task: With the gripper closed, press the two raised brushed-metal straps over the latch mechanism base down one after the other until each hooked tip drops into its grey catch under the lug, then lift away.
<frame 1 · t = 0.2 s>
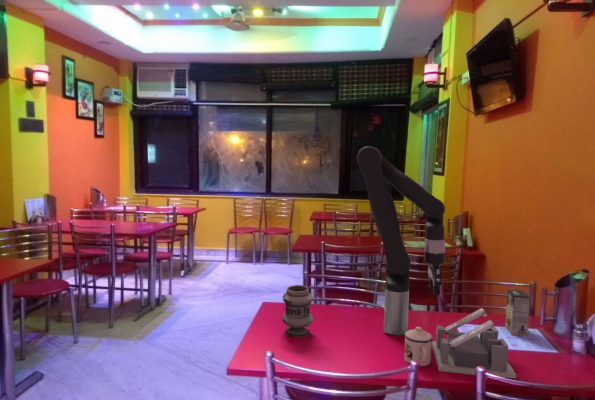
hand: (434, 291, 163), 18 cm above the table, tool pointing down, fingers open, 8 cm apart
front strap: (471, 335, 137), point 11 cm above the table, hinge at 35.0°
latch mechanism base: (470, 360, 143), on the table
back strap: (464, 322, 149), point 11 cm above the table, hinge at 35.0°
apothecary jar: (297, 333, 165), on the table
coffee box: (516, 331, 170), on the table
teacup with lid: (418, 363, 142), on the table
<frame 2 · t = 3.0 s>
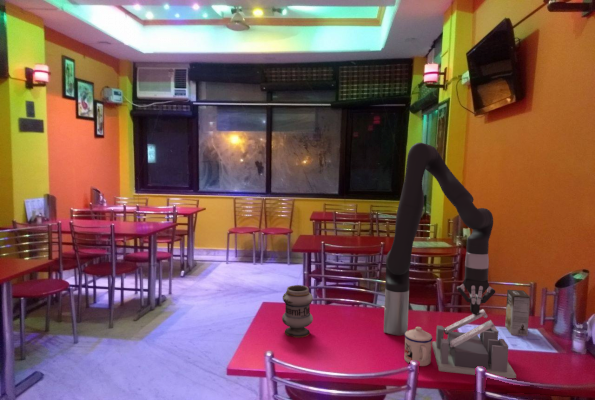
hand: (474, 313, 148), 15 cm above the table, tool pointing down, fingers closed
back strap: (464, 322, 149), point 11 cm above the table, hinge at 32.9°, touching gripper
everything else where it was.
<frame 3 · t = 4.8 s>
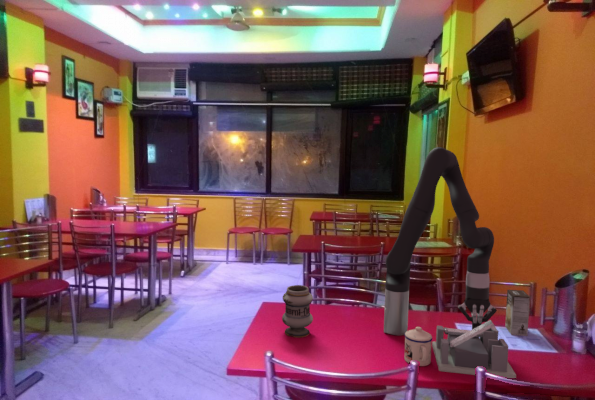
hand: (476, 332, 148), 8 cm above the table, tool pointing down, fingers closed
back strap: (467, 334, 149), point 7 cm above the table, hinge at -0.4°, touching gripper
everything else where it was.
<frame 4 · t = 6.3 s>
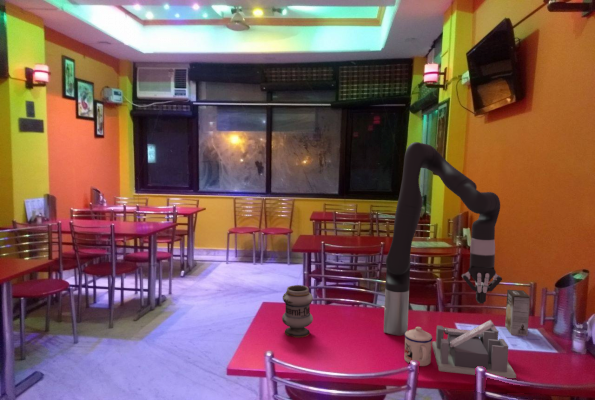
hand: (480, 302, 141), 21 cm above the table, tool pointing down, fingers closed
back strap: (467, 334, 149), point 7 cm above the table, hinge at -0.4°
everything else where it was.
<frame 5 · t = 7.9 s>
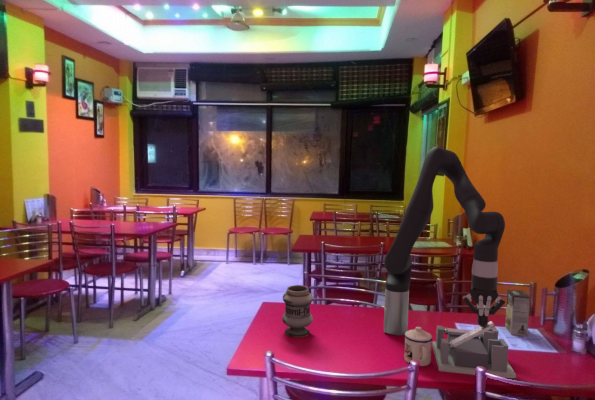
hand: (482, 326, 136), 15 cm above the table, tool pointing down, fingers closed
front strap: (471, 335, 137), point 11 cm above the table, hinge at 33.5°, touching gripper
everything else where it was.
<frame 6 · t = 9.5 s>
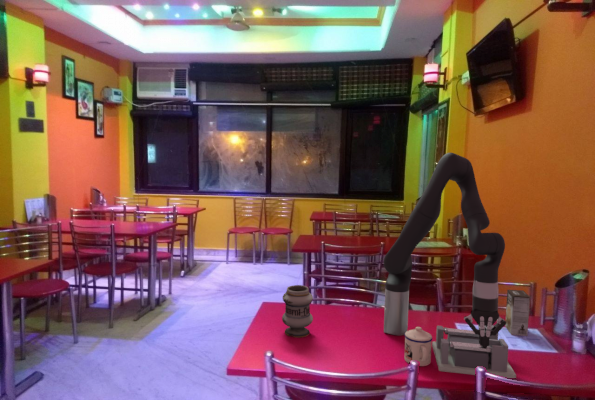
hand: (484, 346, 136), 8 cm above the table, tool pointing down, fingers closed
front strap: (474, 348, 137), point 7 cm above the table, hinge at -0.3°, touching gripper
everything else where it was.
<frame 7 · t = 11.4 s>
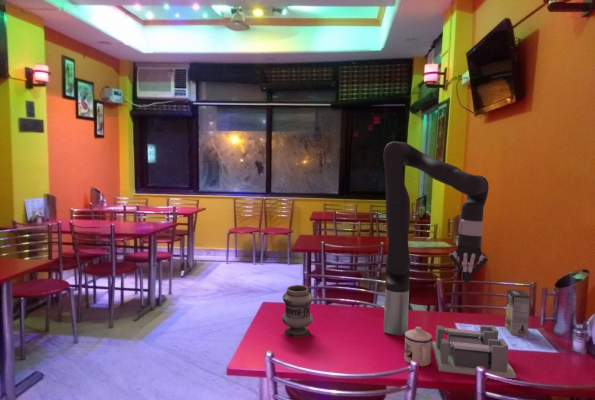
hand: (465, 282, 146), 26 cm above the table, tool pointing down, fingers closed
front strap: (474, 348, 137), point 7 cm above the table, hinge at -0.4°
everything else where it was.
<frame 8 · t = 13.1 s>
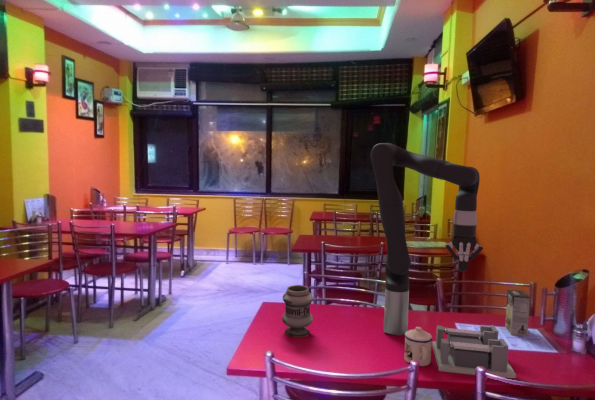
hand: (462, 271, 150), 29 cm above the table, tool pointing down, fingers closed
nothing on the table moved.
at the end: back strap at +0° (first picture: +35°); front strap at +0° (first picture: +35°); teacup with lid moved 0.2 cm from its start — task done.
